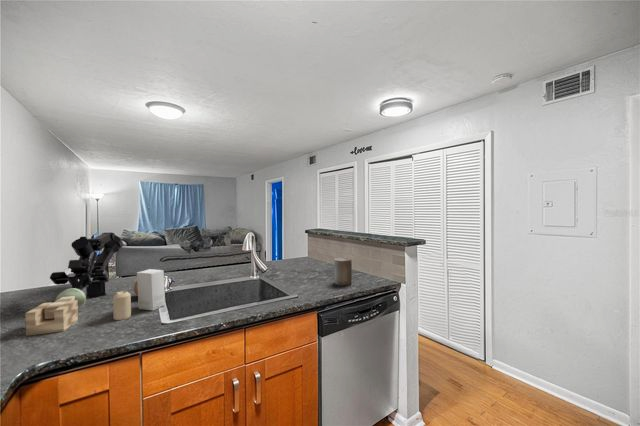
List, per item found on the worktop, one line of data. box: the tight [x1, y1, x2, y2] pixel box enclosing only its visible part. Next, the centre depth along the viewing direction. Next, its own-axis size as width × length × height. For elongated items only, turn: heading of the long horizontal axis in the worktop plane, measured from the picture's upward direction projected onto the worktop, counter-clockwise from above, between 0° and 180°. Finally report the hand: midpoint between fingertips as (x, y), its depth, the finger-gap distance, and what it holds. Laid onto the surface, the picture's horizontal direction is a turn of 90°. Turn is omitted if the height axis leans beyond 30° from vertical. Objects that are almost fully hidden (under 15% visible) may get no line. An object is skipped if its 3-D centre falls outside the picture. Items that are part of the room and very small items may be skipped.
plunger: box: [44, 287, 87, 319], centre depth 104 cm, size 14×9×9 cm, turn 19°
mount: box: [25, 300, 79, 336], centre depth 98 cm, size 10×10×8 cm
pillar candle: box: [333, 256, 353, 287], centre depth 154 cm, size 10×10×15 cm
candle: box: [112, 290, 132, 321], centre depth 107 cm, size 6×6×10 cm
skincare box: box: [136, 268, 166, 311], centre depth 117 cm, size 8×7×16 cm
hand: (74, 295), depth 112 cm, fingers closed
